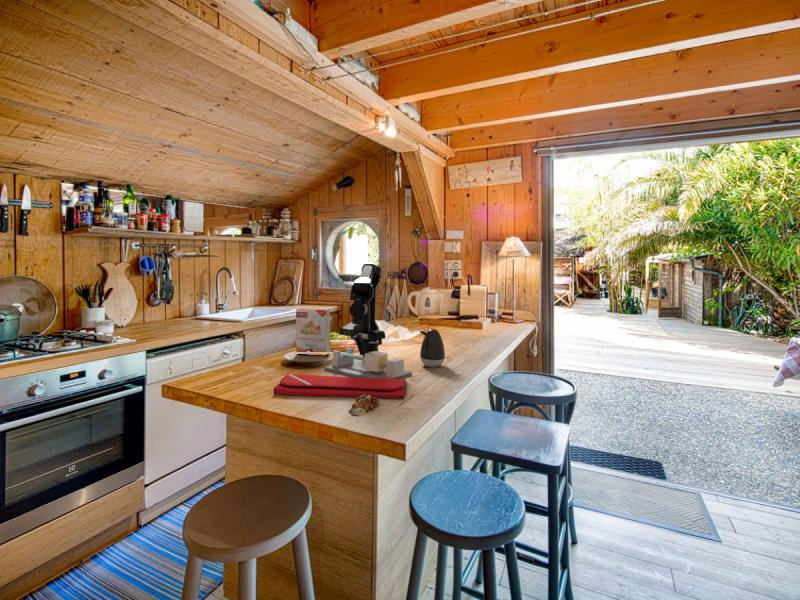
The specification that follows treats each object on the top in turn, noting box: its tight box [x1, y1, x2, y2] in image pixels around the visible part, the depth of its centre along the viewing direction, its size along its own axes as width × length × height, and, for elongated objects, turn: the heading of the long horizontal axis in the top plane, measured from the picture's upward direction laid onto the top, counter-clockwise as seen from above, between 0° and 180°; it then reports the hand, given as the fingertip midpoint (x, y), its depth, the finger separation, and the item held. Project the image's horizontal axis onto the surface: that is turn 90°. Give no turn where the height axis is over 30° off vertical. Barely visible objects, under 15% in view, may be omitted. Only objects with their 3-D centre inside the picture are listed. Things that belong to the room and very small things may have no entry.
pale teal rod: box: [340, 351, 389, 369], centre depth 158 cm, size 4×29×4 cm, turn 53°
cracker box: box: [295, 307, 331, 353], centre depth 186 cm, size 14×6×21 cm, turn 81°
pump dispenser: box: [419, 328, 446, 368], centre depth 169 cm, size 10×10×15 cm
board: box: [324, 347, 413, 380], centre depth 158 cm, size 16×30×7 cm, turn 53°
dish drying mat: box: [272, 373, 407, 400], centre depth 136 cm, size 16×41×4 cm, turn 87°
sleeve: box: [364, 350, 389, 372], centre depth 155 cm, size 6×6×6 cm
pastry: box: [348, 395, 380, 417], centre depth 119 cm, size 7×12×4 cm, turn 169°
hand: (361, 355), depth 159 cm, fingers closed
